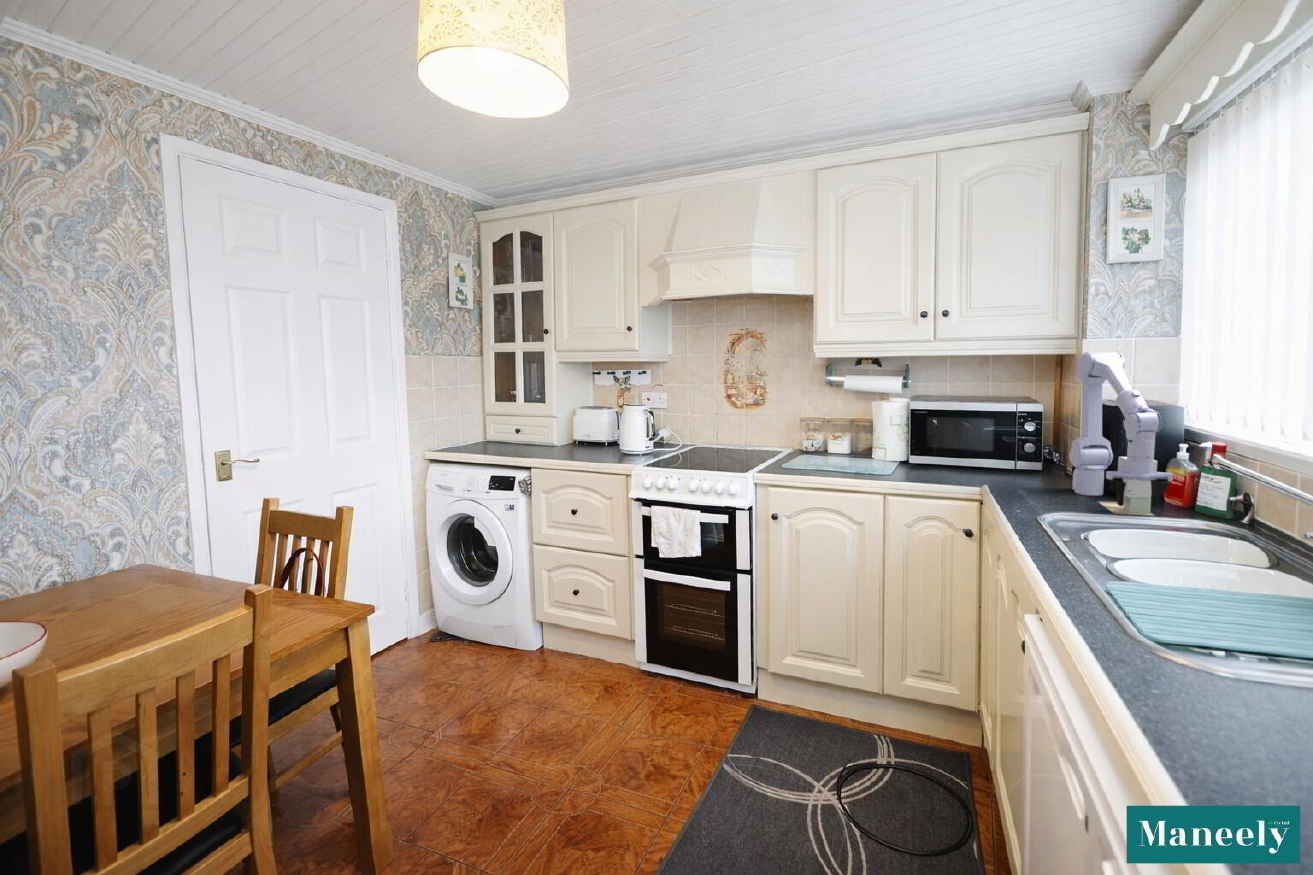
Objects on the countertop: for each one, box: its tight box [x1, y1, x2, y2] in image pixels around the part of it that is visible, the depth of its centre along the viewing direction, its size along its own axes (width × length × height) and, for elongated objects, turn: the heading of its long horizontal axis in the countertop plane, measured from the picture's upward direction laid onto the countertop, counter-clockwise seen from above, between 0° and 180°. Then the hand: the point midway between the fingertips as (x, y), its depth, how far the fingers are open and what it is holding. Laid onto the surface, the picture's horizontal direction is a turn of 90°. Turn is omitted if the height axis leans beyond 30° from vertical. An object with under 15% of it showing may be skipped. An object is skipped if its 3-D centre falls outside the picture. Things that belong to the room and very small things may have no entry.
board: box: [1097, 501, 1156, 517], centre depth 176 cm, size 14×9×1 cm, turn 162°
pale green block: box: [1123, 495, 1152, 514], centre depth 172 cm, size 5×5×4 cm
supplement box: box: [1117, 456, 1158, 499], centre depth 188 cm, size 7×7×13 cm
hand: (1136, 505), depth 172 cm, fingers open, 7 cm apart
